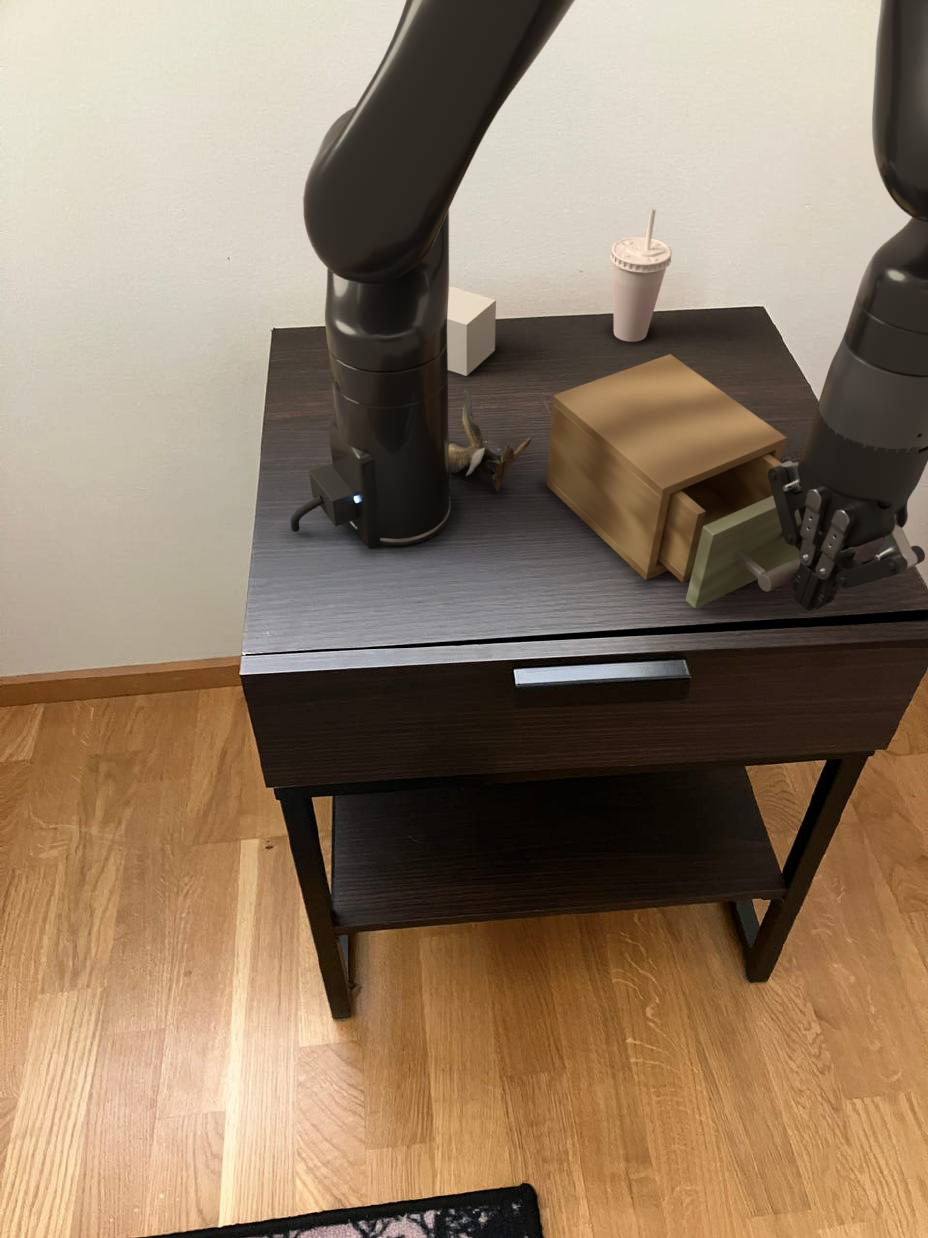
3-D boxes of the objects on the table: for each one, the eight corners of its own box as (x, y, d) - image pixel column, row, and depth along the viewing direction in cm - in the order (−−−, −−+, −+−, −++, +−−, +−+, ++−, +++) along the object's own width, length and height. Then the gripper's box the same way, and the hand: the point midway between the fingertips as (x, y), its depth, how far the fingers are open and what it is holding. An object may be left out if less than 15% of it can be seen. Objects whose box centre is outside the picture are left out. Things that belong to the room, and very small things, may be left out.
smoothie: (656, 350, 105) (677, 225, 95) (598, 344, 106) (612, 219, 96) (660, 321, 110) (680, 198, 99) (604, 315, 110) (618, 192, 100)
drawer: (838, 588, 78) (867, 514, 73) (730, 642, 74) (752, 568, 69) (695, 472, 89) (711, 399, 83) (594, 514, 85) (603, 440, 79)
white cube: (419, 360, 104) (417, 309, 100) (448, 335, 108) (447, 285, 103) (466, 376, 102) (466, 324, 98) (495, 350, 105) (496, 299, 101)
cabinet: (760, 528, 85) (787, 437, 78) (645, 580, 80) (663, 488, 73) (654, 442, 94) (670, 353, 87) (546, 485, 89) (553, 394, 82)
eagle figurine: (541, 455, 90) (473, 402, 93) (525, 425, 84) (453, 369, 87) (488, 516, 91) (422, 462, 94) (468, 491, 84) (398, 433, 87)
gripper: (763, 376, 63) (714, 568, 76) (922, 484, 55) (838, 678, 68) (845, 345, 66) (785, 535, 78) (1008, 444, 58) (912, 638, 71)
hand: (809, 601), depth 73 cm, fingers closed
